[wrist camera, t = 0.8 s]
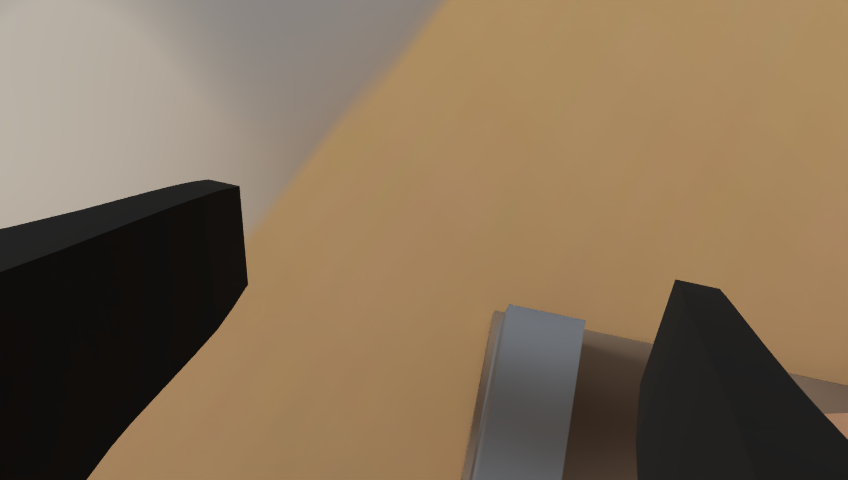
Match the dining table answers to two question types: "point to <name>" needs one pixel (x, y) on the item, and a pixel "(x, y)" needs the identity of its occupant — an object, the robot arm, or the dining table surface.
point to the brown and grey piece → (568, 401)
